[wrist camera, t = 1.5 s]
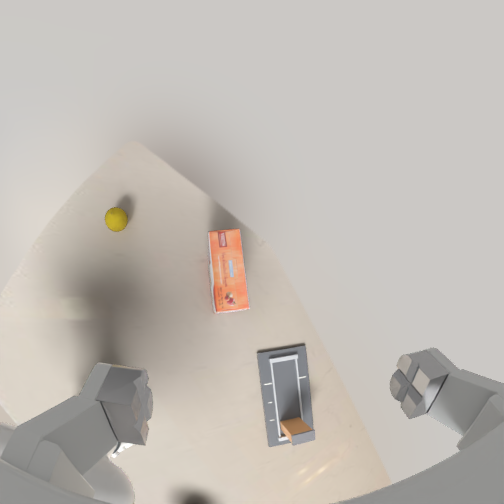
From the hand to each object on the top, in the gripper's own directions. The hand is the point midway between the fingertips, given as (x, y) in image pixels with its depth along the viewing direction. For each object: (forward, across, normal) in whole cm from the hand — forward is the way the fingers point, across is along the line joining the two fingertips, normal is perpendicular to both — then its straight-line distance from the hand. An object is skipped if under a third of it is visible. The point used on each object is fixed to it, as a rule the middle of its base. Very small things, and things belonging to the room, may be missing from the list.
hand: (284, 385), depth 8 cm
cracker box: (+56, -1, -20) cm, 59 cm away
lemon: (+62, -28, -7) cm, 68 cm away
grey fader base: (+42, +15, -45) cm, 63 cm away
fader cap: (+39, +15, -51) cm, 66 cm away
